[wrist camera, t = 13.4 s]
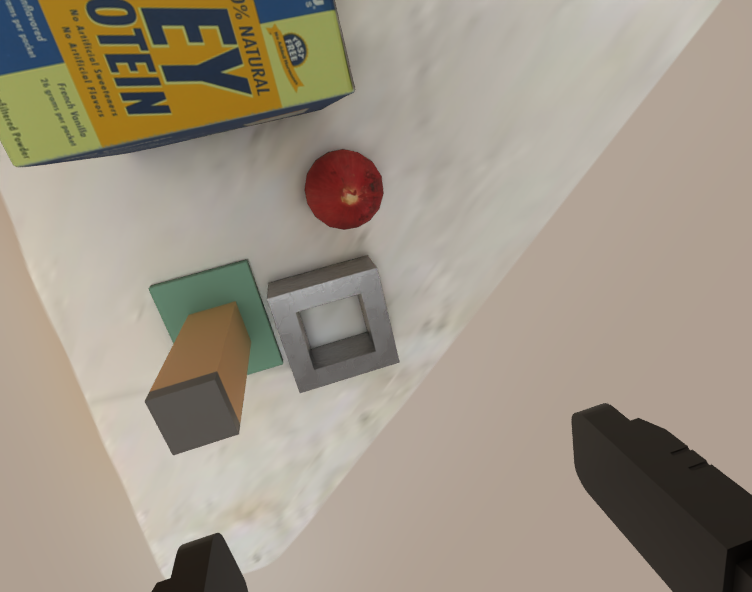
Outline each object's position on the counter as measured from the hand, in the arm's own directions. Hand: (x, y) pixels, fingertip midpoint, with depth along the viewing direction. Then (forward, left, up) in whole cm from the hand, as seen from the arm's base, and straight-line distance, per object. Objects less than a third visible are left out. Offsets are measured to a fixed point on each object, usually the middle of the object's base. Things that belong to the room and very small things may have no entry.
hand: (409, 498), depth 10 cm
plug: (+6, -10, -29) cm, 32 cm away
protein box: (-14, -4, -30) cm, 34 cm away
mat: (+6, -10, -30) cm, 32 cm away
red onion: (-3, +3, -30) cm, 31 cm away
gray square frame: (+8, 0, -30) cm, 31 cm away
